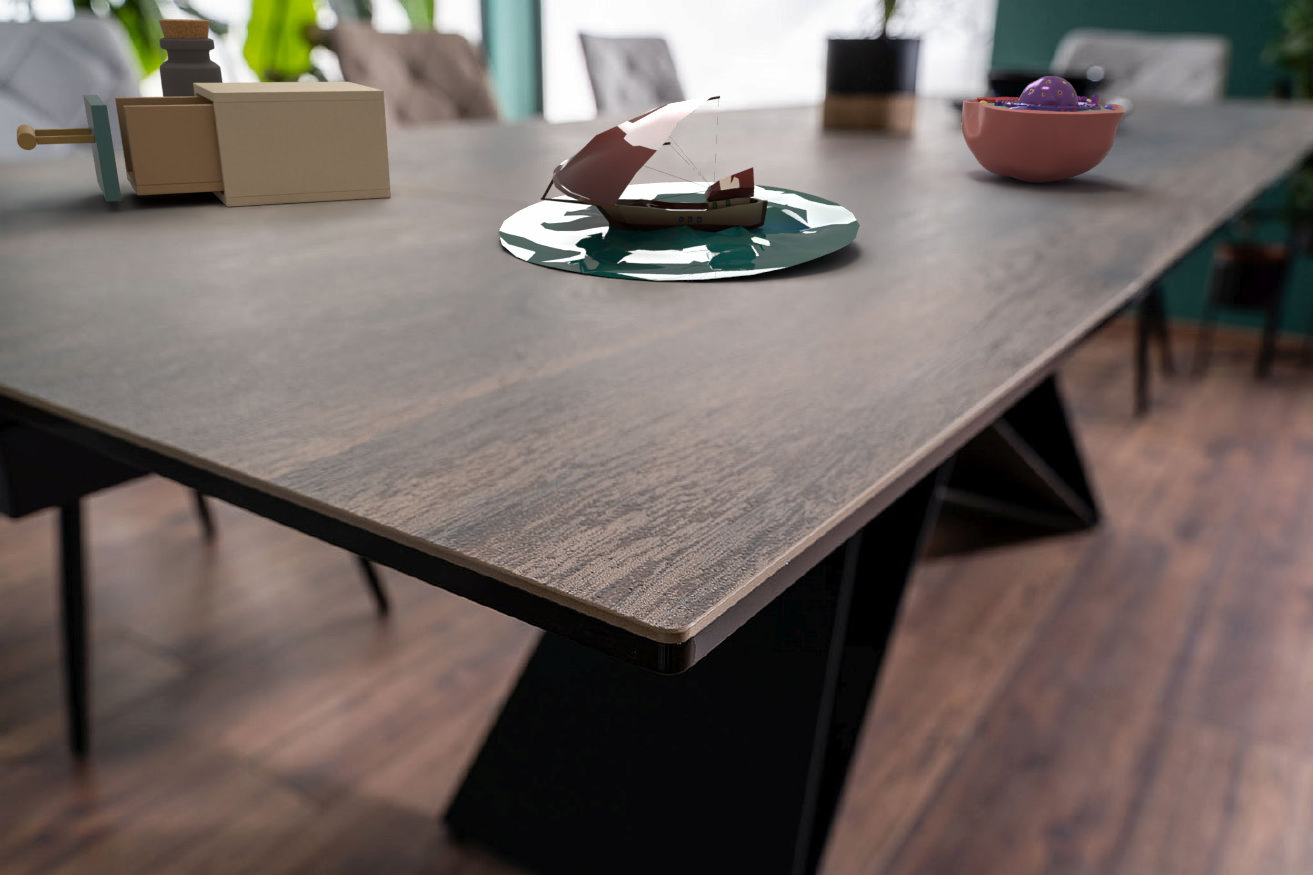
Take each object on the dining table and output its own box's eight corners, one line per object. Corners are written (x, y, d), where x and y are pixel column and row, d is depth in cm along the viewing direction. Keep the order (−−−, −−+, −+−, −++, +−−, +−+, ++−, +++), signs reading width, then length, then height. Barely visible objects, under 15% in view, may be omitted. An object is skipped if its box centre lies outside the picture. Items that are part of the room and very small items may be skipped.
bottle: (232, 175, 112) (214, 20, 107) (171, 176, 110) (149, 19, 105) (233, 167, 117) (216, 19, 112) (175, 168, 116) (154, 18, 110)
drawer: (28, 206, 88) (9, 106, 85) (27, 186, 97) (10, 95, 94) (272, 192, 97) (263, 102, 94) (250, 175, 106) (240, 92, 103)
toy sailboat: (504, 209, 97) (493, 79, 92) (811, 193, 99) (815, 66, 94) (494, 312, 72) (478, 142, 67) (905, 288, 74) (918, 121, 69)
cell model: (1096, 172, 130) (1113, 73, 126) (1124, 197, 112) (1144, 82, 108) (952, 164, 134) (963, 68, 129) (956, 187, 115) (970, 76, 111)
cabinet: (227, 206, 95) (213, 92, 91) (206, 186, 105) (192, 82, 101) (390, 197, 101) (383, 90, 98) (356, 178, 112) (348, 81, 108)
